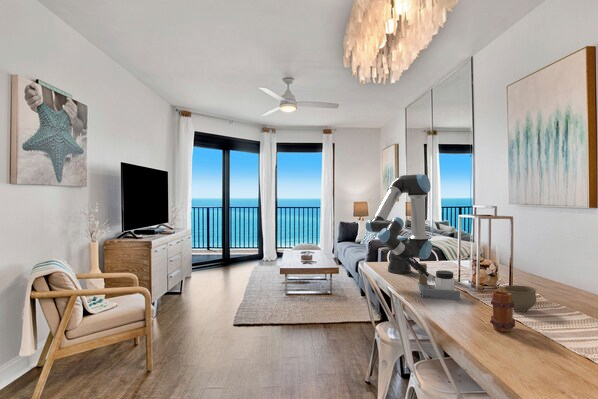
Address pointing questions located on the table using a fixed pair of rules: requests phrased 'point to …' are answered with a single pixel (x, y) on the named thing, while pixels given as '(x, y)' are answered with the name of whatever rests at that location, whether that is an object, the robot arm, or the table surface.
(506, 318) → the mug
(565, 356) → the table surface
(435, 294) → the pull strip
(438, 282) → the jar
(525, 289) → the bowl
